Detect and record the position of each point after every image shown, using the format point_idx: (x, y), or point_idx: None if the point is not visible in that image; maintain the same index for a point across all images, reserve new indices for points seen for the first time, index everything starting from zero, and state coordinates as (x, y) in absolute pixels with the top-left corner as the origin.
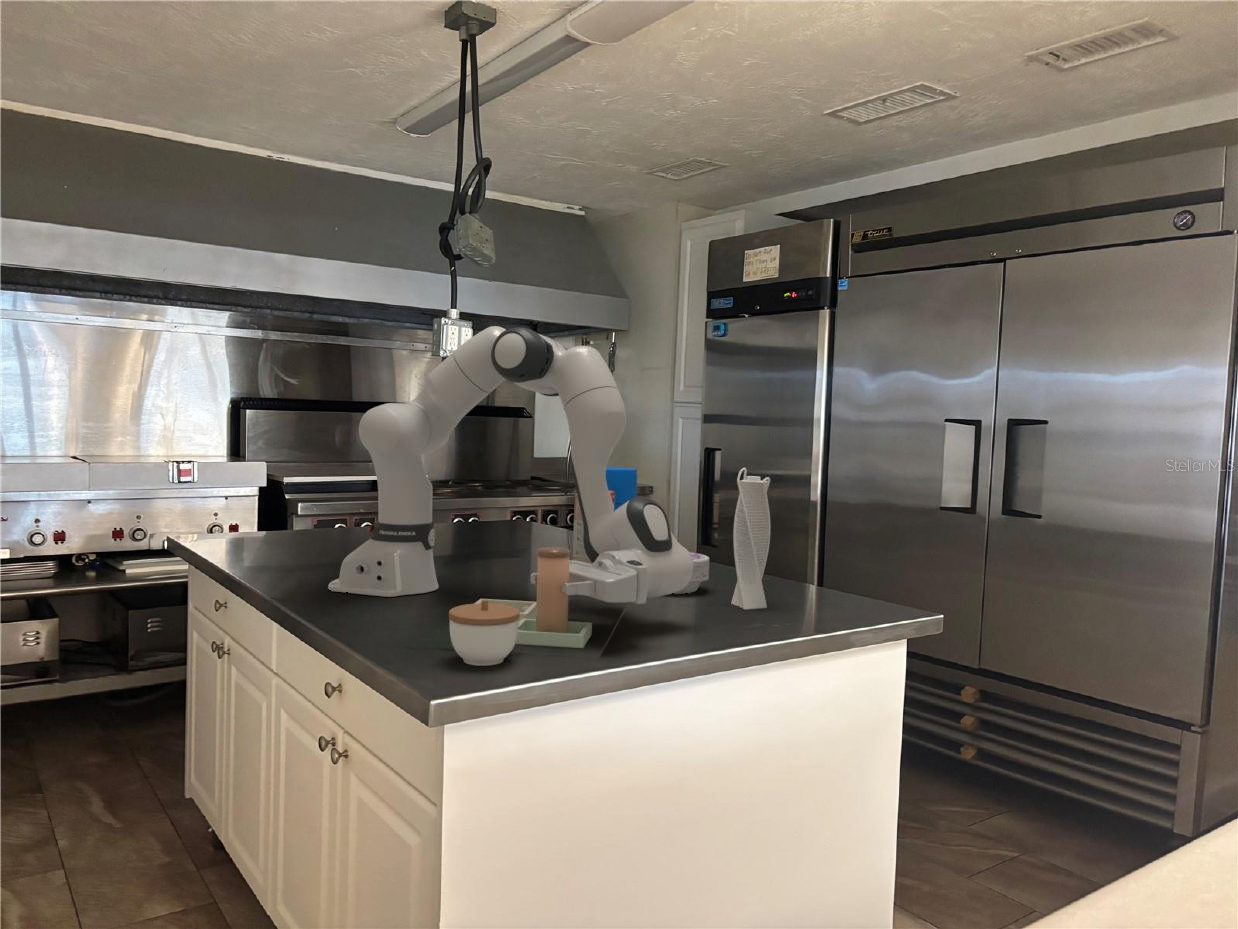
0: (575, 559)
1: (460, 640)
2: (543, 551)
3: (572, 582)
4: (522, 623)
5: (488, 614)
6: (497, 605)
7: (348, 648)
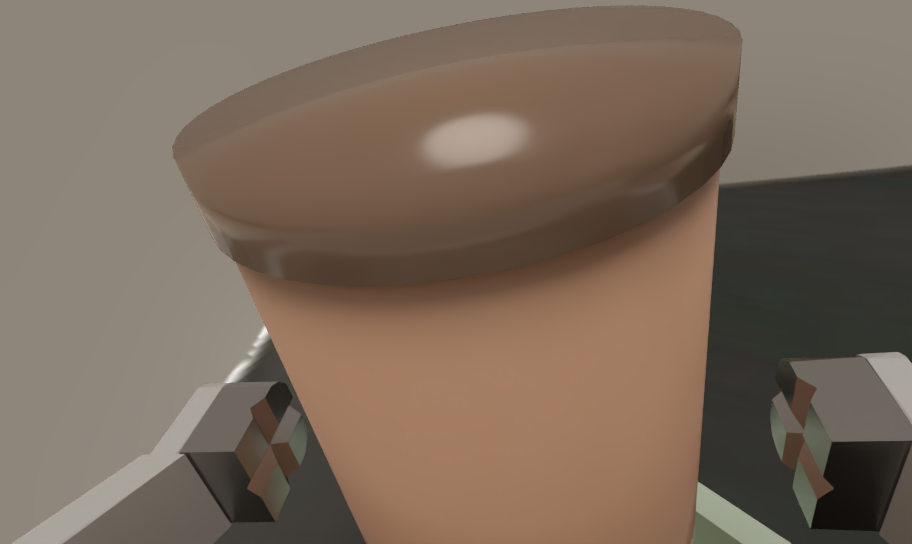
0: None
1: None
2: (417, 34)
3: (208, 442)
4: (737, 540)
5: None
6: None
7: (800, 177)
